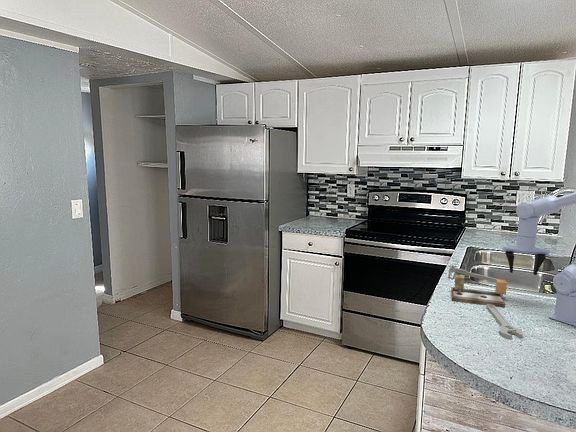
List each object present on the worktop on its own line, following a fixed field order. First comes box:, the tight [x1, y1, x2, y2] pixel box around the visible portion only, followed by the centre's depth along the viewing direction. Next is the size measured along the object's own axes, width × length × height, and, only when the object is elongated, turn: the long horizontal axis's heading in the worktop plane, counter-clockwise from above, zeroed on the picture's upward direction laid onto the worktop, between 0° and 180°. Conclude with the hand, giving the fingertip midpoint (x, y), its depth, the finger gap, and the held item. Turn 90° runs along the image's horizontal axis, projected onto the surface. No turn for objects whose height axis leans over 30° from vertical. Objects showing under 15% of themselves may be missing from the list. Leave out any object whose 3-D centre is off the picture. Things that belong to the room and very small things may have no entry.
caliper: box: [447, 264, 497, 283], centre depth 170 cm, size 20×1×6 cm, turn 76°
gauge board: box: [450, 274, 506, 308], centre depth 148 cm, size 17×12×7 cm
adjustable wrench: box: [485, 304, 524, 340], centre depth 128 cm, size 25×6×2 cm, turn 164°
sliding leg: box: [494, 278, 508, 300], centre depth 146 cm, size 3×8×5 cm, turn 159°
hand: (522, 273), depth 145 cm, fingers open, 7 cm apart
